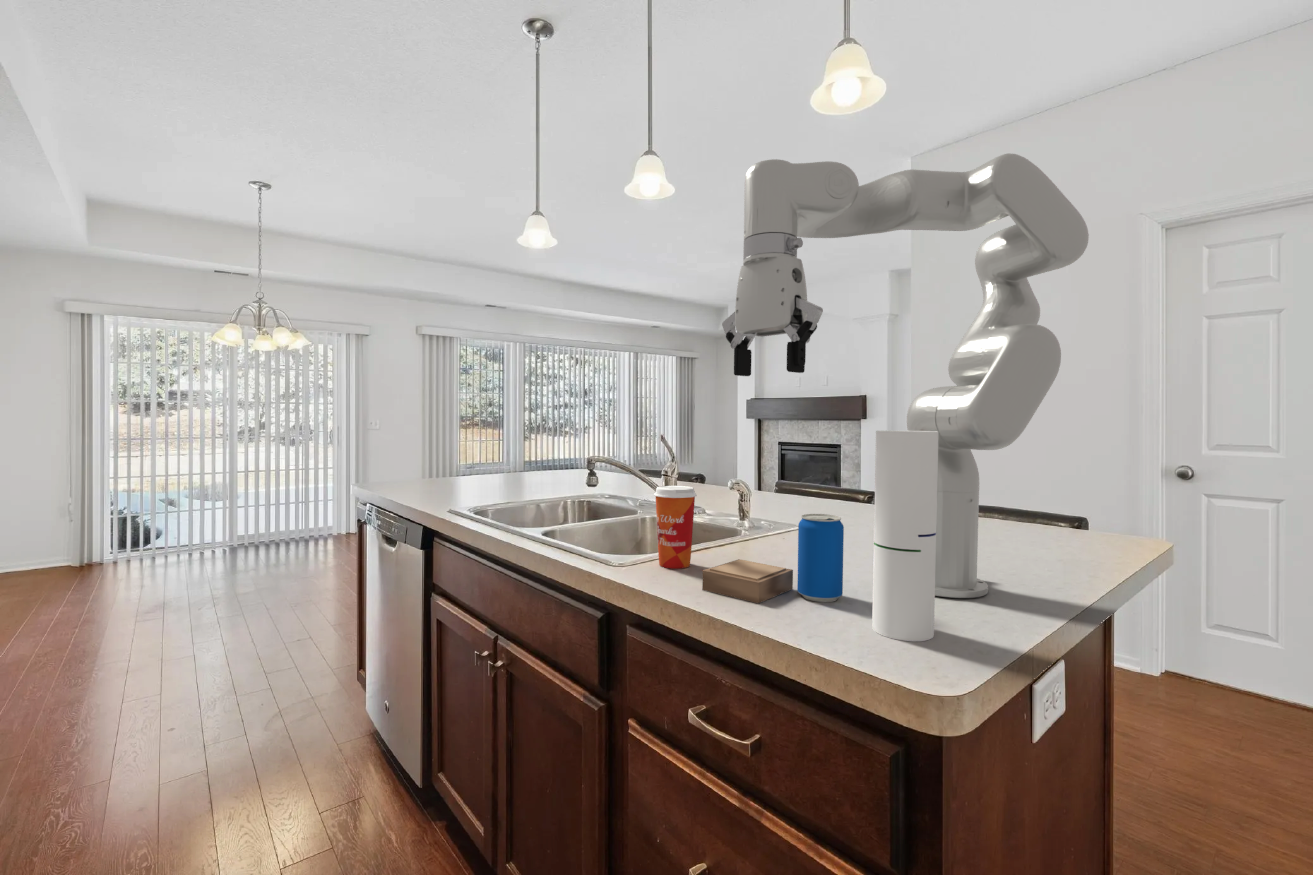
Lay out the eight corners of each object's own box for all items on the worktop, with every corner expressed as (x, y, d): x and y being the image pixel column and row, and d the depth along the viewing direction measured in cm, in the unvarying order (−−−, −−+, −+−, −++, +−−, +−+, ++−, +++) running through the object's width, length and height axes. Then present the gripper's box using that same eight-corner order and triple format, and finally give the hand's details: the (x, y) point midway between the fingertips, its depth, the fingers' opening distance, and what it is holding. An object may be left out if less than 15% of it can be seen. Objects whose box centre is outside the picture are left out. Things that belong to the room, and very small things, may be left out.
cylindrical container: (947, 638, 72) (952, 431, 71) (897, 643, 70) (902, 431, 69) (906, 618, 79) (910, 430, 78) (860, 623, 77) (864, 430, 76)
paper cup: (644, 565, 106) (645, 487, 106) (671, 557, 112) (672, 484, 112) (678, 572, 101) (679, 491, 101) (705, 564, 107) (705, 487, 107)
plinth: (738, 577, 99) (738, 557, 99) (792, 588, 92) (793, 568, 92) (702, 589, 91) (702, 568, 91) (758, 603, 85) (758, 580, 85)
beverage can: (844, 605, 84) (846, 521, 84) (798, 602, 86) (799, 519, 85) (840, 592, 91) (841, 514, 90) (796, 589, 92) (797, 512, 92)
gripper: (838, 246, 80) (835, 372, 81) (742, 269, 94) (740, 378, 94) (804, 234, 76) (801, 368, 76) (708, 261, 89) (706, 375, 89)
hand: (767, 374), depth 85 cm, fingers open, 9 cm apart
